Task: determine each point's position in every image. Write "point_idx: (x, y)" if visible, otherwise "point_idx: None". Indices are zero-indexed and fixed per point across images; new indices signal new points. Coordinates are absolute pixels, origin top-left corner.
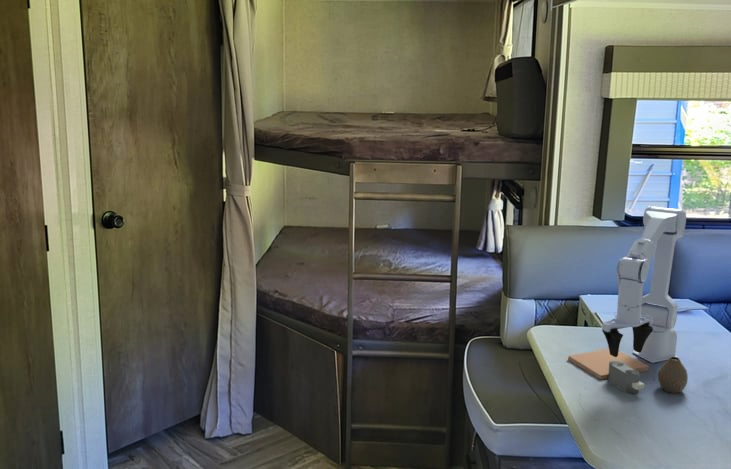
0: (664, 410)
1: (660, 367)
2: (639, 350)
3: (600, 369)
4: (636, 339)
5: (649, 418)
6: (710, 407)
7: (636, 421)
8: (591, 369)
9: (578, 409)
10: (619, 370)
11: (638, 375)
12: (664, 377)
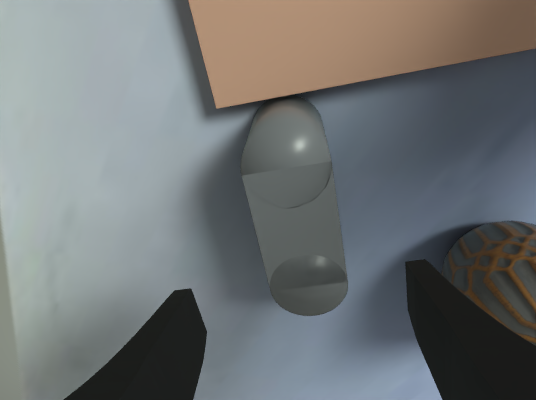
0: (332, 364)
1: (498, 290)
2: (413, 326)
3: (250, 27)
4: (445, 353)
5: (252, 388)
6: None
7: (202, 392)
8: (193, 15)
9: (37, 309)
10: (258, 241)
11: (321, 313)
12: None
